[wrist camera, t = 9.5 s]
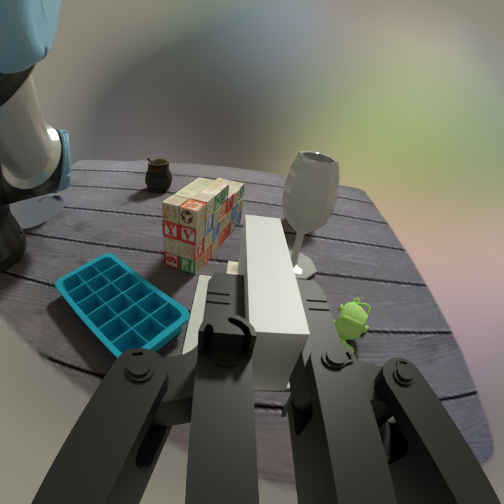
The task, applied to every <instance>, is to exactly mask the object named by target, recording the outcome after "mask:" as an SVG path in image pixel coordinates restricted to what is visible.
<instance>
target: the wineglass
mask: <svg viewBox="0 0 504 504" xmlns="http://www.w3.org/2000/svg"><path fill="white" fill-rule="evenodd" d="M338 185H339V166H338V161H336V160H335V159H334V158H333V157H330V156H328V155H325V154H323V153H319V152H313V151H301V152H299V153H298V155H297V157H296V158H295V160H294V161H293V163H292V166H291V168H290V171H289V174H288V177H287V179H286V182H285V187H284V192H283V197H282V199H283V213H284V216H285V218H286V220H287V222H288V223H289V224H290V225H291V226H292V228H293V229H294V230H295V231H296V232H297V233H296V237H295V241H294V245H293V249H292V251H289V254H290V257H291V261H292V265H293V269H294V273H295V276H296V279H299V280H307V279H308V278H310V277H311V276H313V275H314V274H315V273H316V272H317V270H316V268H315V266H314V264H313V262H312V260H311V259H310V258H308V257H306V256H305V255H303V254H302V253H300V250H301V246H302V242H303V238H304V234H307V233H309V232H312V231H314V230H317V229H319V228H320V227H322V226H324V225H325V224H326V222H327V221H328V219H329V217H330V216H331V214H332V213H333V210H334V207H335V203H336V200H337V195H338Z"/></svg>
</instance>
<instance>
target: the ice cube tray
mask: <svg viewBox="0 0 504 504" xmlns="http://www.w3.org/2000/svg"><path fill="white" fill-rule="evenodd" d="M56 288H57V289H58V291H59V292H60V293H61V295H62V296H63V297H64V299H65V300H66V301H67V302H68V304H69V305H70V306H71V307H72V309H73V310H74V311H75V312H76V313H77V315H78V316H79V317H80V318H81V319H82V321H83V322H84V323H85V324H86V325H87V326H88V327H89V329H90V330H91V331H92V332H93V333H94V334H95V335H96V336H97V338H98V339H99V340H100V341H101V342H102V343H103V344H104V345H105V346H106V347H107V348H108V349H109V350H110V351H111V352H112V354H113V355H114V356H115V357H116V358H118V357H119V356H120V355H121V354H122V353H123V352H125V351H128V350H130V349H134V348H145V349H151V350H153V351H154V352H157V351H158V350H159V349H161V348H162V347H163V346H164V345H166V344H167V343H168V342H169V341H171V340H172V339H173V338H174V337H175V336H177V335H178V334H179V333H180V332H181V331H182V325H183V324H184V323H186V322H187V321H188V320H189V316H190V314H189V312H188V310H187V309H186V308H185V307H183V306H182V305H180V304H179V303H177V302H176V301H175V300H173V299H172V298H170V297H169V296H168V295H166V294H165V293H163V292H162V291H161V290H159V289H158V288H157V287H155V286H154V285H152V284H151V283H150V282H148V281H147V280H146V279H144V278H143V277H142V276H140V275H139V274H138V273H136V272H135V271H134V270H132V269H131V268H130V267H129V266H127V265H126V264H125V263H123V262H122V261H121V260H120V259H118V258H117V257H116V256H115V255H113V254H109V253H108V254H103V255H101V256H100V257H98V258H96V259H94V260H92V261H90V262H88V263H87V264H85V265H83V266H81V267H79V268H78V269H76V270H74V271H72V272H70V273H69V274H67V275H65V276H63V277H61V278H60V279H58V281H57V282H56Z"/></svg>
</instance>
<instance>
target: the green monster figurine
mask: <svg viewBox="0 0 504 504" xmlns="http://www.w3.org/2000/svg"><path fill="white" fill-rule="evenodd" d="M356 300H358V302H355V301H356ZM359 302H360V300H359V299H358V298H355V299H354V300H353V302H349V303H346V305H345V306H344V307H343V305H342V304H341V305H340V307H339V309H338V310H339V311H340V315H339V317H338V320H333V321H334V324H335V327H336V330H337V333H338V336H339V339H340V342H341V344H343V345H345V346H347V347H348V348H349V349H350V350H351V351H352V352H353V353H354V348H353V347H352V346H350V345H348V344H347V342H346V340H353V339H358V338H359V337H360V335H361V333H362V332H364V333H366V332H367V330H368V328H369V326H365V324H366V322H367V320H368V314H369V313H370V306H369V305H368V304H366V303H359ZM359 305H363V306H367V307H368V312H367V313H366V312H365V311H364V310H363V309H362V307H360V306H359Z"/></svg>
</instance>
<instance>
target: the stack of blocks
mask: <svg viewBox="0 0 504 504" xmlns="http://www.w3.org/2000/svg"><path fill="white" fill-rule="evenodd" d="M243 192H244V184H243V183H239V182H235V181H229V180H225V179H221V178H217V179H216V180H215V181H213V180H209V179H204V178H200V177H199V178H198V179H196V180H195V181H193V182H192V183H190V184H189V185H187V186H186V187H185V188H183V189H181V190H180V191H178V192H177V193H175V194H174V195H172V196H170V197H169V198H167V199H166V200H164V201H163V203H162V207H163V220H162V222H163V239H164V259H165V265H168V266H171V267H173V268H176V269H179V270H182V271H185V272H188V273H190V274H193V275H196V274H197V272H198V271H199V270H200V269H201V268H202V267H203V266H204V265H205V264H206V262H207V261H208V260H209V259H210V258H211V256H212V255H213V254H214V253H215V252H216V251H217V249H218V247H219V246H220V245H221V244H222V243H223V241H224V240H225V239H226V237H227V236H228V235H229V234H230V233H231V232H232V231H233V230H234V229H235V227H236V226H237V225H238V224H239V223H240V221H241V212H242V205H243Z"/></svg>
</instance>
